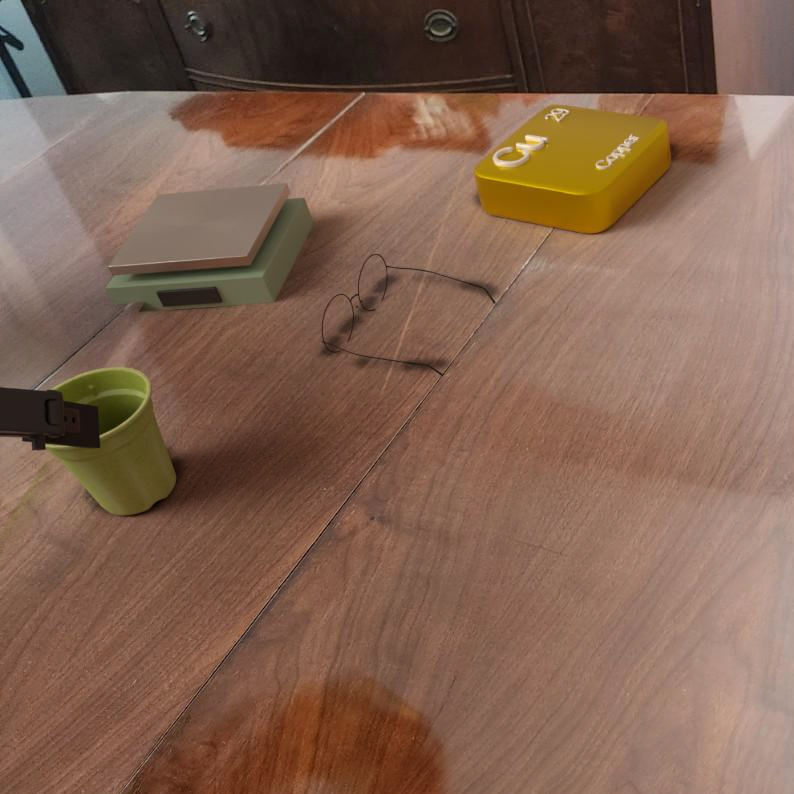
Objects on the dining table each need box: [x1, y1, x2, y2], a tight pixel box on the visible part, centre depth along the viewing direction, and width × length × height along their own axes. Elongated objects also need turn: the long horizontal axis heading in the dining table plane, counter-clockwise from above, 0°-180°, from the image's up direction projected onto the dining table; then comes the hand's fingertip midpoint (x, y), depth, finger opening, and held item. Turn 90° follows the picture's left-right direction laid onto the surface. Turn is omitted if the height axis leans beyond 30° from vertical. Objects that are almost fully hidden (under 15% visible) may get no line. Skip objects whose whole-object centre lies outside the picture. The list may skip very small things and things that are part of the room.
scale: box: [105, 197, 315, 313], centre depth 109 cm, size 16×14×4 cm
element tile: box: [473, 104, 672, 235], centre depth 110 cm, size 15×15×5 cm
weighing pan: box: [107, 182, 291, 277], centre depth 108 cm, size 14×13×1 cm
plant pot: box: [45, 366, 177, 516], centre depth 86 cm, size 9×9×9 cm
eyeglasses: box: [321, 253, 497, 377], centre depth 97 cm, size 11×13×5 cm
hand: (2, 432), depth 74 cm, fingers open, 13 cm apart
